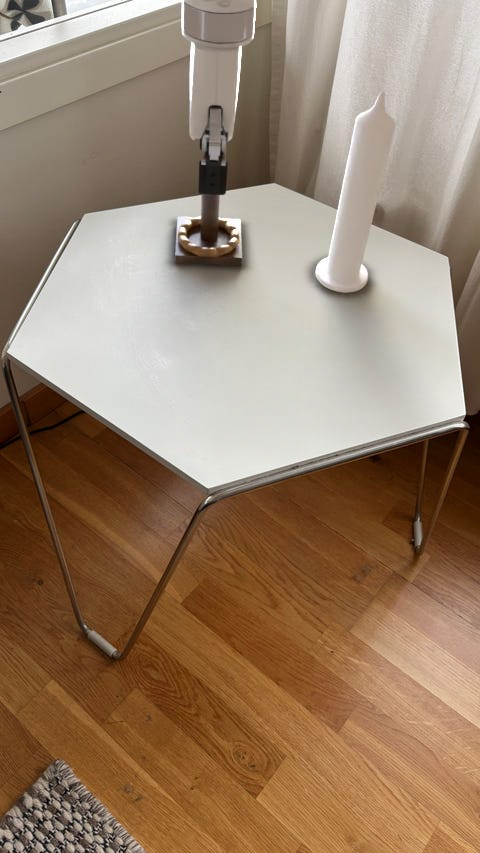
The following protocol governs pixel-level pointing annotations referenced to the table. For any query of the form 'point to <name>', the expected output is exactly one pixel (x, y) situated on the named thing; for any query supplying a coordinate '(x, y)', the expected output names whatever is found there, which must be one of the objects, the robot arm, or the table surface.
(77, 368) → the table surface
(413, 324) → the table surface
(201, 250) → the ring
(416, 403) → the table surface
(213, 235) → the post
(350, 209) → the candle
